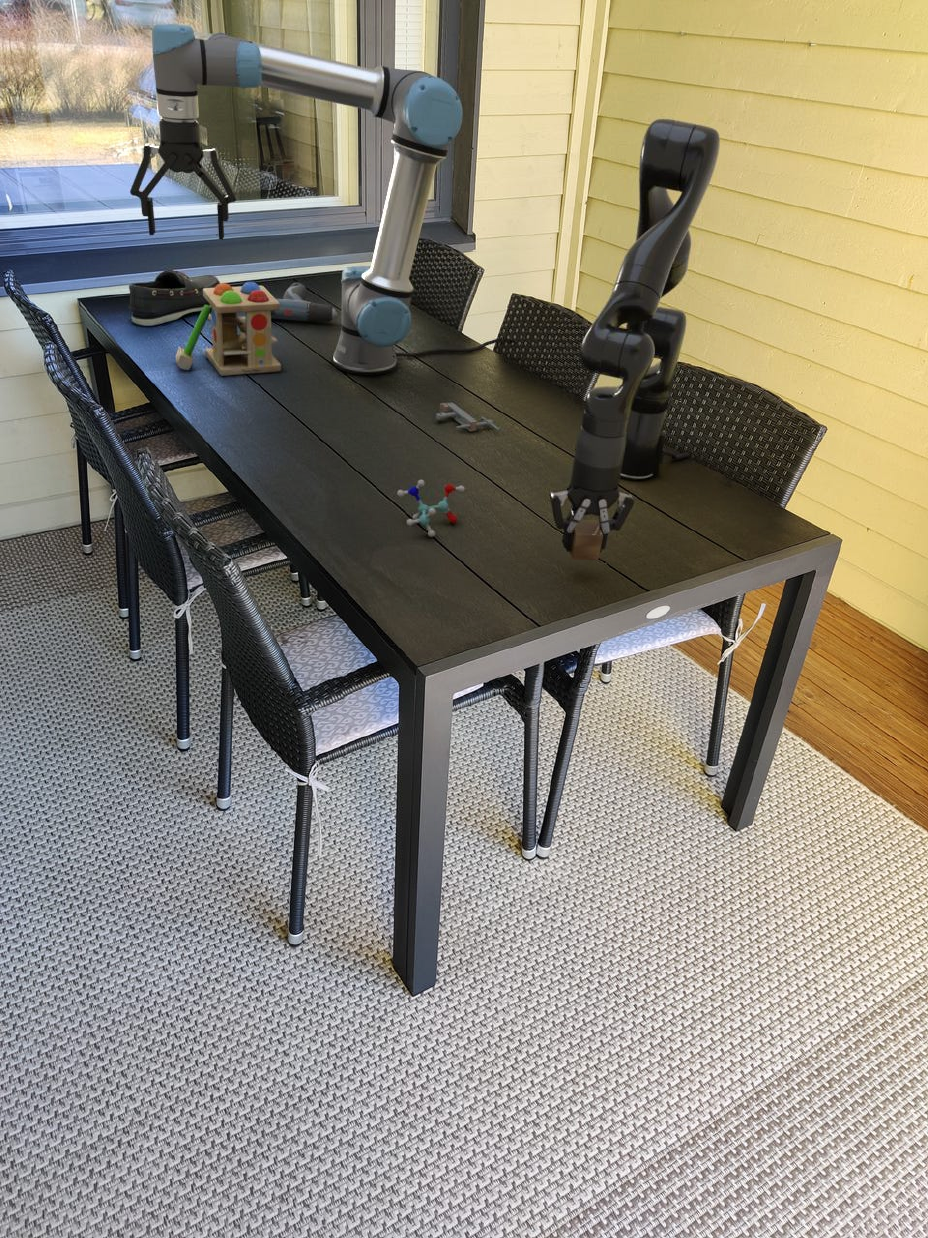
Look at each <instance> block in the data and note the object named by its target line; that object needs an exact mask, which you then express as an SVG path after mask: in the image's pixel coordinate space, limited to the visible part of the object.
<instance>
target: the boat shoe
mask: <svg viewBox="0 0 928 1238" xmlns="http://www.w3.org/2000/svg"><path fill="white" fill-rule="evenodd" d="M218 284H221V282H220V280H219V279H218V277H217V276H215V275H213V274H203V275H199V276H194V277H191V278H190V276H188V275H187V274H185V273H184V272H181V271H179V270H173V269H172V268H171V269H169V268H168V269H166V270H164V271H162V272H159V274H158V275H156V277H155V278H154V280H153V281H148V282H147V281H146V282H133V283H130V284H129V285H128V290H129V306H128V310H130V311H131V315H130V316H131V321H132V323H133V324H135V325H139V326H145V327H150V326H157V325H161V324H165V323H167V322H171V321H175V320H178V319H179V318H181V317H182V316H184V315H187V314H190V313H193V312H194V313H195V312H201V311H202V309H203V307H204V305H208V306H210V307H211V305H210V304H209V302H208V301H207V300H206V299H205V297H204V296H203V289H204V288H215V287H216V286H217V285H218Z"/></svg>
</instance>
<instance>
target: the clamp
mask: <svg viewBox="0 0 928 1238" xmlns="http://www.w3.org/2000/svg"><path fill="white" fill-rule="evenodd" d="M449 418H452V419H453V420H455V421H456V422H457V423H458V424H460V425H457V426H455V429H456V430H459V429H460V430H461V429H462V430H463V429H467V431H469V432H475V431H477V427H483V426H485V427H492V428H494V429H495V430H496V432H497V433H501V431H502V428H501V427H498V426H496V425H495V424H494V421H493V419H487V418H486V417H485V415H482V416H481V417H480V420H481V421H480V422H479V421H478V420H476V419H475V418H474V417H472V416H471V415H470V414H468V413H467V412H466V411H464V410H463V409H462V408H461V407H459V406H458V405H457V404H455V403H454V402H447V403H446V402H443V403H439V412H438V413H436V414H435V419H436V420H438V421H443V420H447V419H449Z"/></svg>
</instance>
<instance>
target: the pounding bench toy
mask: <svg viewBox="0 0 928 1238" xmlns="http://www.w3.org/2000/svg"><path fill="white" fill-rule="evenodd" d="M203 296H204V297H205V299H206V300H207V301H208V302H209V304H210V305H211V307H210V306H208V305H204V307H203V309H202V311H200V313H199V316H198V318H197V320H196V322H195V324H194V327H193V329H192V331H191V332H190V333H191V334H190V336H189V338H188V340H187V343H186V344H185V347H184V348H182V347H180V346H179V347H178V349H177V351H176V354H175V357H174V358H175V362H176V365H177V366H178V368H179V369H182V370H185V371H189V370H190V369H191V367H192V365H193V363H194V356H193V351H194V348H195V347H196V345H197V342H198V340H199V337H200V336H201V333H202V332H203V329H204V326H205V325H206V322H207V320H209V321H210V322H211V336H212V337H211V338H212V339H211V340H212V348H205V349H204V352H205V353H204V355H205V357H206V359H208V361H209V363H210V364H211V365H212V366H213V367H214V369H215V370H216V371H217V372H218V374H219V375H220V376H222V377H223V376H234V375H235V376H236V375H246V374H247V375H250V374H262V373H275V372H281V370H282V364H281V363H280V362H279V360H278V359H277V358H276V357H275V356H274V355H273V348H272V347H273V345H272V344H276V343H278V342H279V341H278V339H277V338H276V337H275V336H274V334H272V318H271V310H280V303H279V302H278V301H277V300H276V299H277V298H276V297H274V296H273V295H272V294H271V293H270V292H269V290H268V289H267V288H266V287H264V285H259V284H257V283H256V282H255V281H247V282H245V283H244V284H243V285H242V286H232V285H230V284H229V283H226V282H220V284H218V285H217V286H216V287H215V288H204V289H203ZM238 313H244V314H245V315H244V316H238ZM238 329H239V331H240V333H239V334H238Z"/></svg>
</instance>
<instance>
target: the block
mask: <svg viewBox="0 0 928 1238" xmlns="http://www.w3.org/2000/svg"><path fill="white" fill-rule="evenodd" d="M602 538H603V534H602V532H601V529H600V523H599V521H598V520H597V519H581V521H580V522H578V524H577V526H576V528H575V530H574V538H573V544H572V550H571V552H569V554H570V557H571V560H573V561H575V560H577V561H581V560H583V561H599V559H600V554H601V552H600V549H601V544H602Z"/></svg>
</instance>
